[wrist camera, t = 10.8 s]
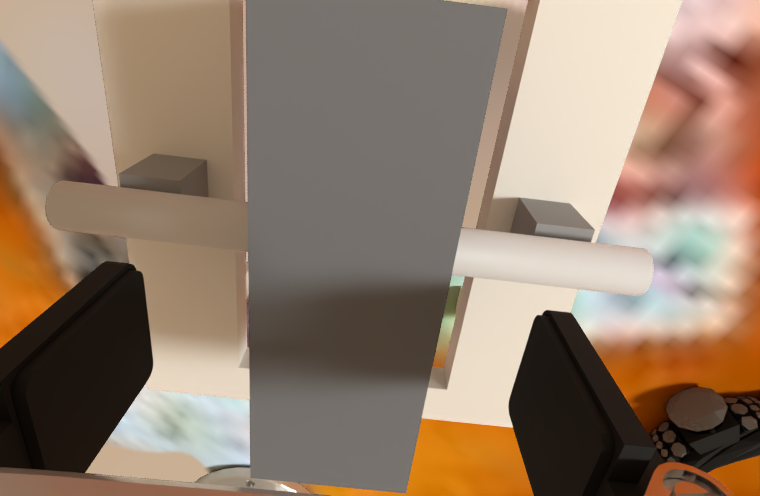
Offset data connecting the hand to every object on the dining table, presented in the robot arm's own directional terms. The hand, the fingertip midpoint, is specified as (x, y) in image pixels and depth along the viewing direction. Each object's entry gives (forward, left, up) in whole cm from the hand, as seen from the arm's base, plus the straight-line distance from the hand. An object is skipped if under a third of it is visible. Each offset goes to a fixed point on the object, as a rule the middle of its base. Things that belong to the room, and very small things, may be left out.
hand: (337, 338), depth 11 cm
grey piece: (0, 0, -13) cm, 13 cm away
